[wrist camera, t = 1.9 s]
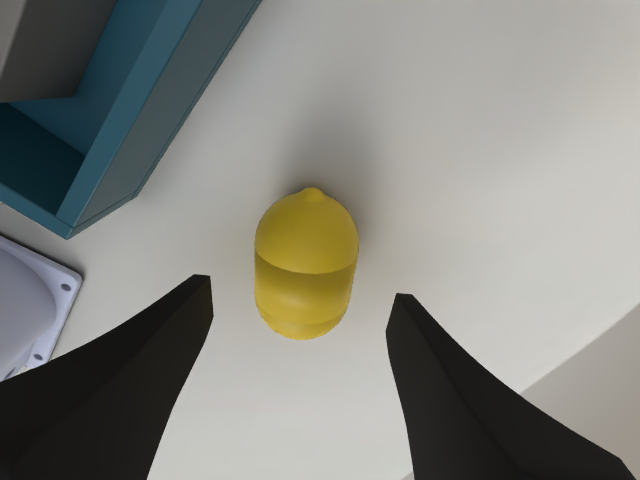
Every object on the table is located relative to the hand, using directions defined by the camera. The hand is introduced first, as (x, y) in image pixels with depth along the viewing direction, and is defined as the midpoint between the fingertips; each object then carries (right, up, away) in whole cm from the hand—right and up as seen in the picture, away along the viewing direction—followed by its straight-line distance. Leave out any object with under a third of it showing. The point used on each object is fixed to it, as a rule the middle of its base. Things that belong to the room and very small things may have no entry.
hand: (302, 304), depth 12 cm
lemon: (0, +2, +4) cm, 5 cm away
